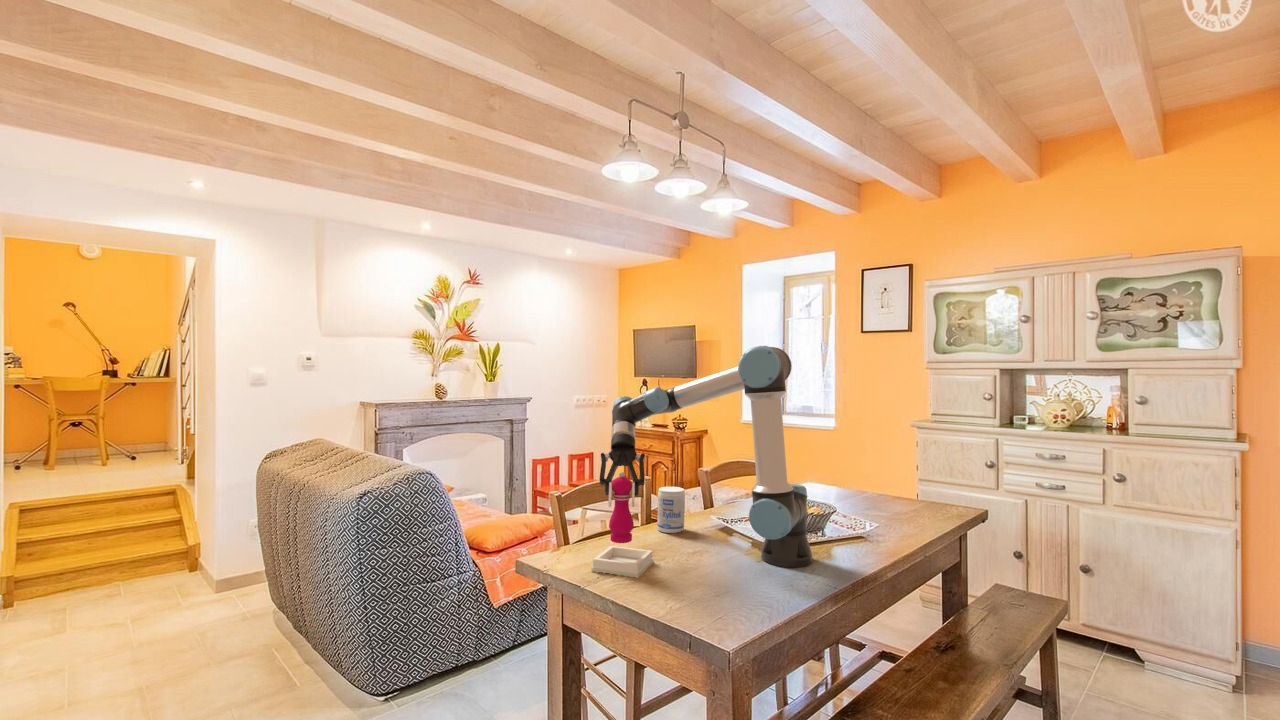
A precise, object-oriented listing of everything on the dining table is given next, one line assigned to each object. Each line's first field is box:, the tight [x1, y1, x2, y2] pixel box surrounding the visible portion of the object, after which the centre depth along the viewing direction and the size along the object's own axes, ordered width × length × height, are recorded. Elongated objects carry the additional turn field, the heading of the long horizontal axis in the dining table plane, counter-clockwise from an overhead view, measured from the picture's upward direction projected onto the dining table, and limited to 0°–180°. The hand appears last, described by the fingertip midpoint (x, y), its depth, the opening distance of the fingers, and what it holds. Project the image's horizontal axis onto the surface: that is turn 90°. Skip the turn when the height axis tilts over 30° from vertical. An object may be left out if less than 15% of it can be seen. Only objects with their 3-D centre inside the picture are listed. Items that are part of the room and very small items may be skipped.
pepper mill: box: [608, 471, 635, 544], centre depth 176 cm, size 7×7×20 cm
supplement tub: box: [656, 486, 686, 534], centre depth 215 cm, size 10×10×15 cm
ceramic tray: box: [591, 545, 655, 579], centre depth 176 cm, size 14×14×4 cm
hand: (621, 504), depth 172 cm, fingers closed on pepper mill, 6 cm apart
